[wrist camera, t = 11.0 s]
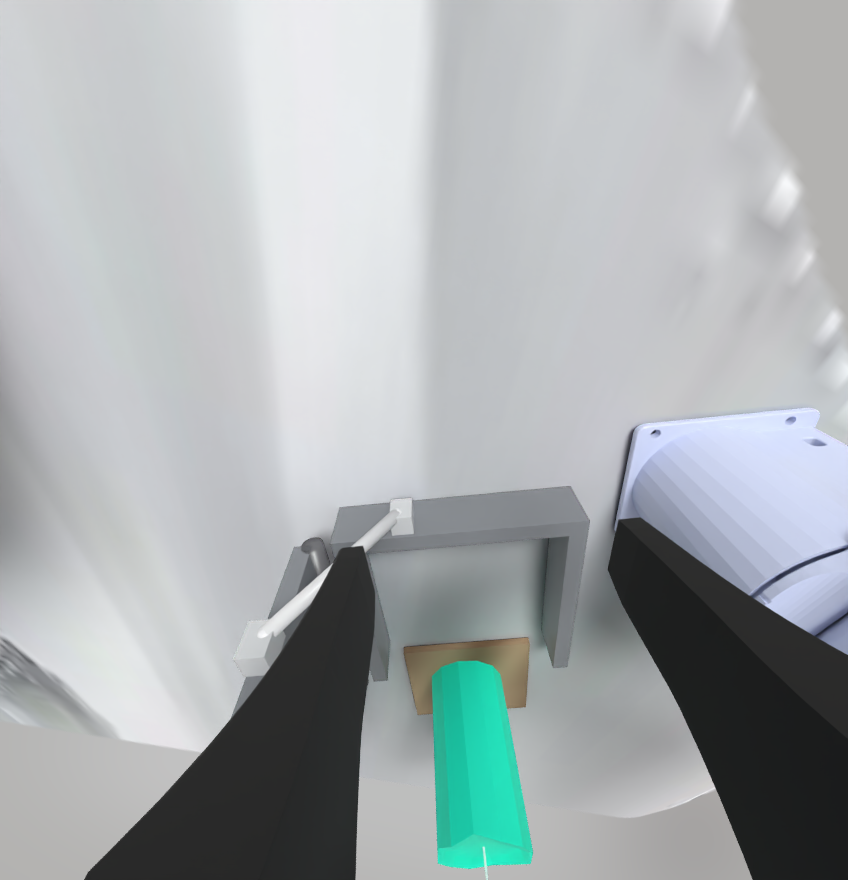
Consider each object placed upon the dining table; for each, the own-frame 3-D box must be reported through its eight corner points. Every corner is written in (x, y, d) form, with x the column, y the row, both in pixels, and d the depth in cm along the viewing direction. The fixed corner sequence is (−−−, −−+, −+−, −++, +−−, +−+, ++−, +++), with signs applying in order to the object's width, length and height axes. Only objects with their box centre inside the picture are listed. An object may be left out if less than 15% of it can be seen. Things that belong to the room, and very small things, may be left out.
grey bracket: (572, 467, 22) (877, 961, 7) (554, 627, 30) (686, 1023, 15) (300, 493, 23) (89, 996, 8) (351, 644, 31) (291, 1039, 16)
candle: (511, 665, 32) (557, 884, 21) (487, 701, 34) (518, 909, 24) (441, 656, 31) (453, 879, 20) (423, 694, 34) (426, 906, 23)
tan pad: (528, 637, 30) (529, 643, 30) (524, 701, 36) (525, 707, 35) (403, 647, 31) (403, 653, 30) (417, 708, 36) (417, 714, 36)
